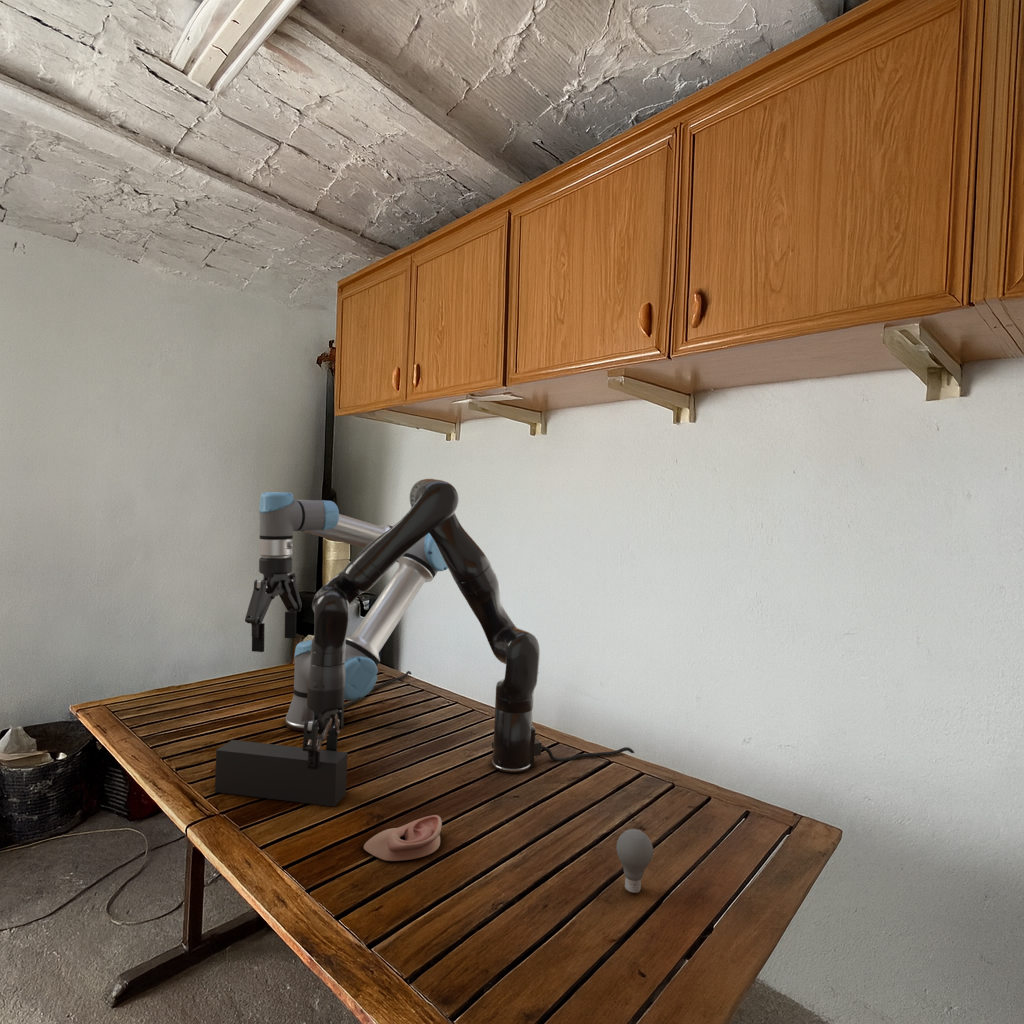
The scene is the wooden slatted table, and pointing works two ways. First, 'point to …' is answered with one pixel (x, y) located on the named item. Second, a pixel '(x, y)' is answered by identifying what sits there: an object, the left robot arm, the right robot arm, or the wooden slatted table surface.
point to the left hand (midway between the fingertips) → (274, 644)
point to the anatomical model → (407, 840)
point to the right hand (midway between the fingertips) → (322, 760)
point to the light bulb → (634, 857)
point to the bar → (280, 773)
